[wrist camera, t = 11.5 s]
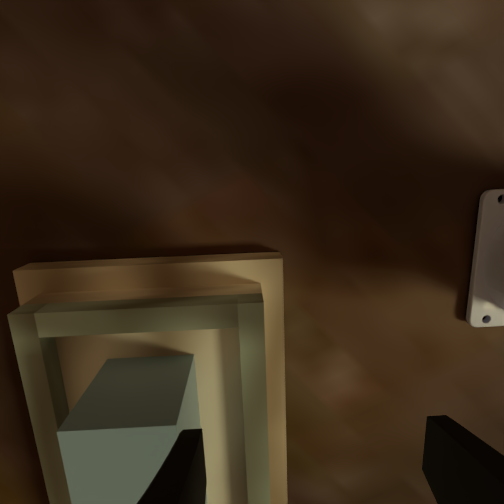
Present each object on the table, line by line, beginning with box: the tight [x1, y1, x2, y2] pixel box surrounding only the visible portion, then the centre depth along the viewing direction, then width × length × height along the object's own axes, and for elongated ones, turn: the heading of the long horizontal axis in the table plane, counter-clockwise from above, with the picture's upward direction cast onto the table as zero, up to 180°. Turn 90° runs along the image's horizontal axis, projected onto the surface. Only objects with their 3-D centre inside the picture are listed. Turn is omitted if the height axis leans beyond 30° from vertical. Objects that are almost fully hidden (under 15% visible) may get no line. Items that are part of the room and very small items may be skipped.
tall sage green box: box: [57, 354, 208, 504], centre depth 17 cm, size 4×11×5 cm, turn 2°
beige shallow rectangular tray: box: [7, 252, 287, 504], centre depth 20 cm, size 14×20×4 cm
